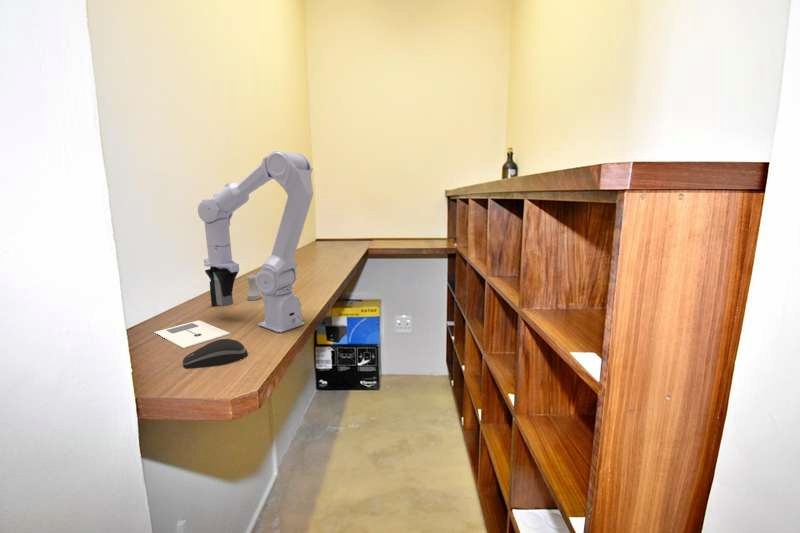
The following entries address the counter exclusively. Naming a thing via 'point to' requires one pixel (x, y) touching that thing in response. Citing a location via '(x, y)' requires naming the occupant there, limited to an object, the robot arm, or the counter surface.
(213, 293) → the ink cartridge
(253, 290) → the rook chess piece
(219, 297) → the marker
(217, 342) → the computer mouse
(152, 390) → the counter surface
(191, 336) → the paper sheet
